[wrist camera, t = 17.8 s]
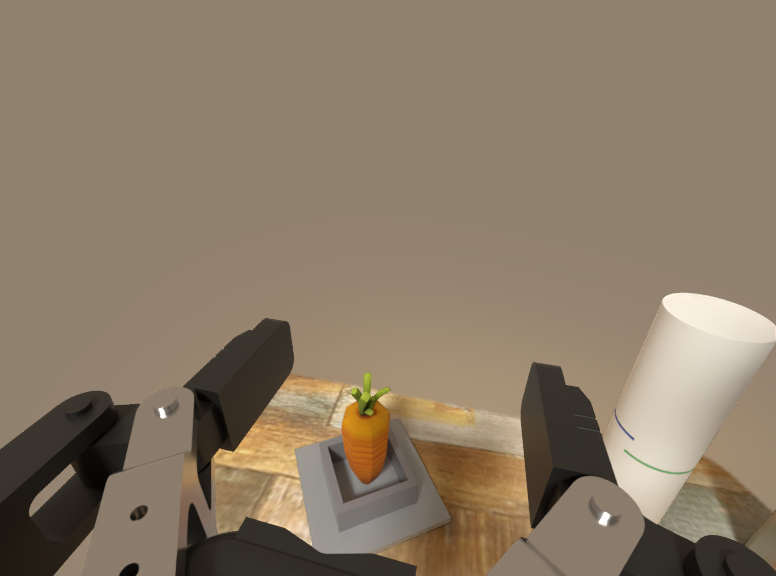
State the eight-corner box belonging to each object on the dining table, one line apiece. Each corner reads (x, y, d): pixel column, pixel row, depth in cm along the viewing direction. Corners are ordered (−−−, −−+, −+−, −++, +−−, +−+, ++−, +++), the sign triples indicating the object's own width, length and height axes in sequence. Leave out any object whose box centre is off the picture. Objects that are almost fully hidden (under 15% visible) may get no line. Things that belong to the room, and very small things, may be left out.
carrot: (360, 455, 44) (357, 359, 37) (396, 474, 42) (401, 376, 35) (336, 490, 40) (327, 390, 33) (375, 512, 38) (375, 411, 31)
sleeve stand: (399, 422, 50) (400, 401, 48) (450, 522, 38) (454, 499, 36) (295, 453, 45) (291, 431, 43) (318, 577, 34) (315, 554, 32)
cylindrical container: (619, 471, 44) (710, 290, 32) (670, 534, 38) (807, 337, 26) (566, 481, 42) (641, 296, 31) (610, 548, 36) (725, 347, 24)
